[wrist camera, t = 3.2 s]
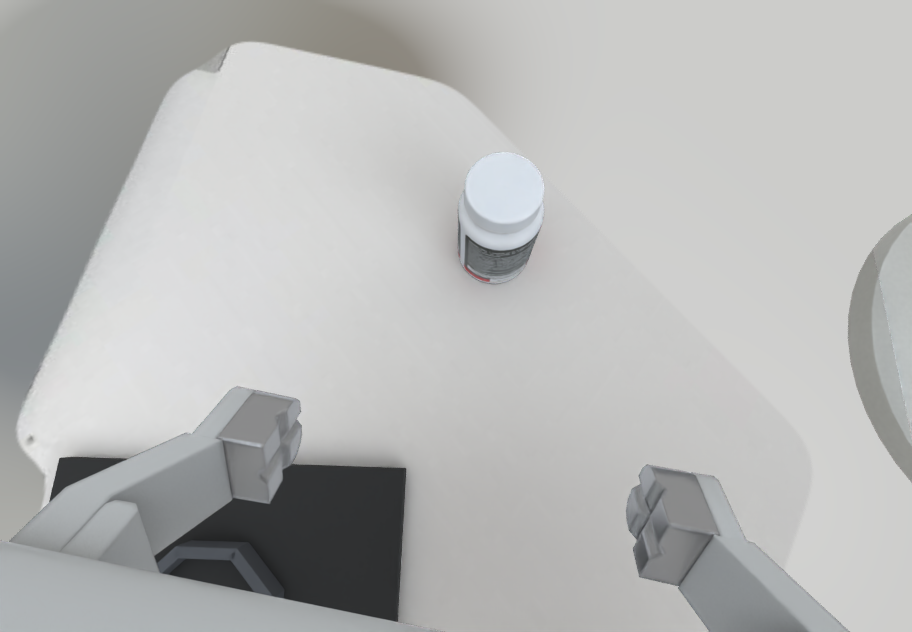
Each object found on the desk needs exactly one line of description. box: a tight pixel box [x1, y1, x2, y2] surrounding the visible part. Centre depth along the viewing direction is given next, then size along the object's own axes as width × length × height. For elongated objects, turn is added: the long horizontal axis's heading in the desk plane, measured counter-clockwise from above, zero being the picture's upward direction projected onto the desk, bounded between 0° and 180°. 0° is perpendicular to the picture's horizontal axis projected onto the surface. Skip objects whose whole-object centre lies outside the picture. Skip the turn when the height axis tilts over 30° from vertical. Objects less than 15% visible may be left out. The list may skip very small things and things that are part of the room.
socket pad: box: [49, 457, 406, 622], centre depth 25 cm, size 20×16×2 cm
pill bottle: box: [458, 152, 544, 283], centre depth 27 cm, size 5×5×8 cm
